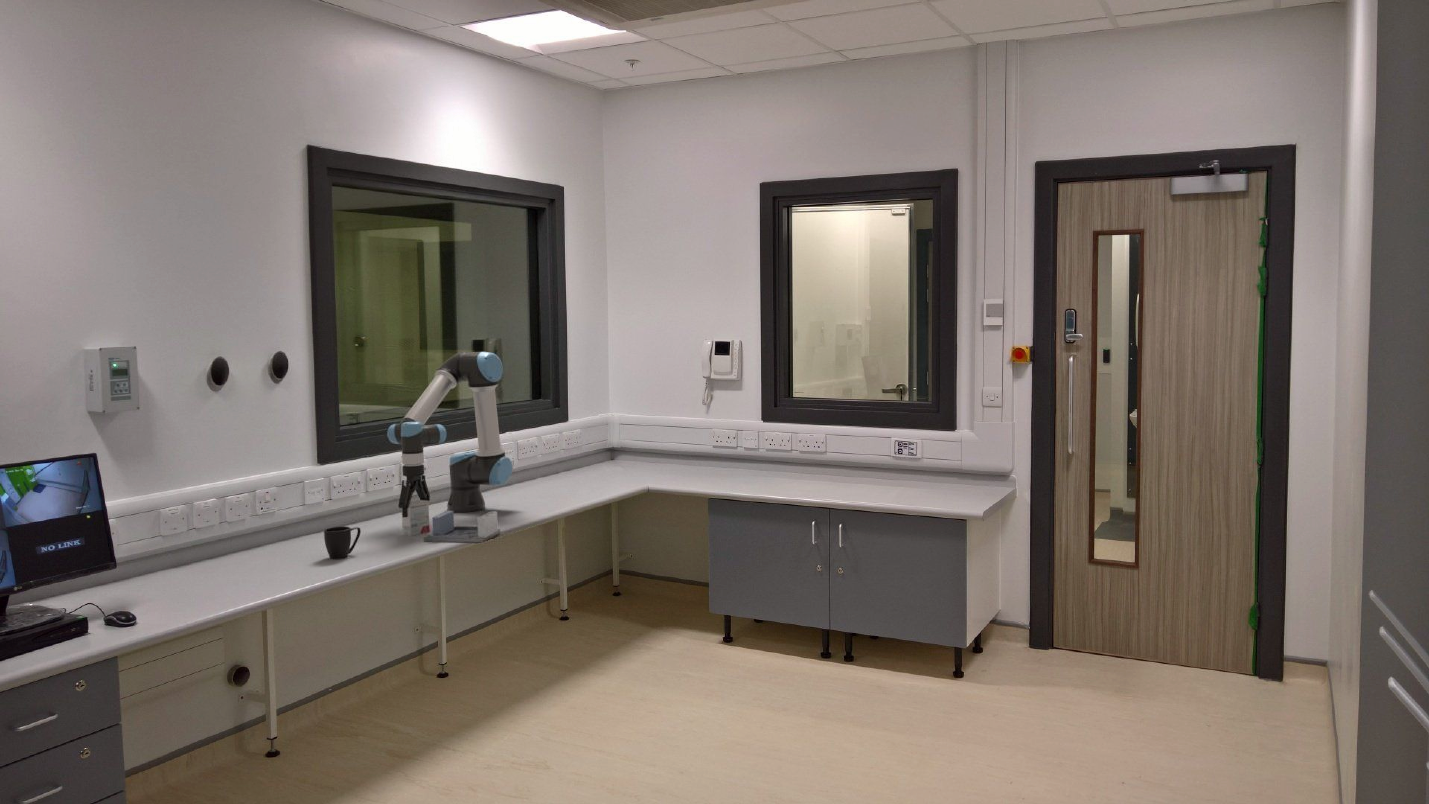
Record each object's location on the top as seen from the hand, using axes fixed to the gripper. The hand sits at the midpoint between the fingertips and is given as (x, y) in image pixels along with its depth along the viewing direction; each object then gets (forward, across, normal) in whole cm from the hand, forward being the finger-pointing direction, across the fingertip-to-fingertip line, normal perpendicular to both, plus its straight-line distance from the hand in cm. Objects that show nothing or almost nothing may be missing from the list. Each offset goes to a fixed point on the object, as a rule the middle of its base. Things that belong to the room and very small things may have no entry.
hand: (415, 522), depth 366 cm
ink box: (+4, 0, 0) cm, 4 cm away
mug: (+5, +36, -8) cm, 37 cm away
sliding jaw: (+3, +5, +13) cm, 14 cm away
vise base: (+4, +5, +20) cm, 21 cm away
